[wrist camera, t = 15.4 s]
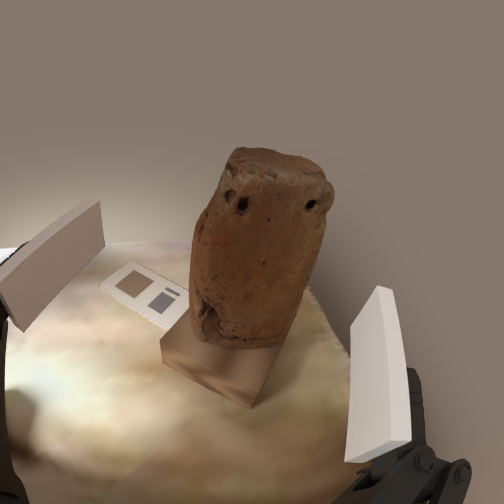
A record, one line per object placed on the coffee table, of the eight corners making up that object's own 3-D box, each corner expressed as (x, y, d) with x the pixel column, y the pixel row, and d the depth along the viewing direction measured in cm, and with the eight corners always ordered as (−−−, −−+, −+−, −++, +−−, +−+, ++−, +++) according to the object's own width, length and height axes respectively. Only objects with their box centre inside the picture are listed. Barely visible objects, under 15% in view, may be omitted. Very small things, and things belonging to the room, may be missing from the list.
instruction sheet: (98, 286, 38) (98, 284, 38) (131, 261, 44) (130, 259, 44) (172, 334, 35) (172, 332, 34) (203, 299, 41) (203, 297, 41)
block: (271, 304, 36) (317, 154, 24) (285, 351, 30) (355, 187, 18) (187, 303, 33) (200, 138, 22) (188, 354, 27) (199, 166, 16)
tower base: (162, 362, 31) (159, 340, 28) (213, 301, 41) (216, 277, 38) (250, 409, 28) (258, 392, 25) (286, 335, 38) (296, 312, 35)
